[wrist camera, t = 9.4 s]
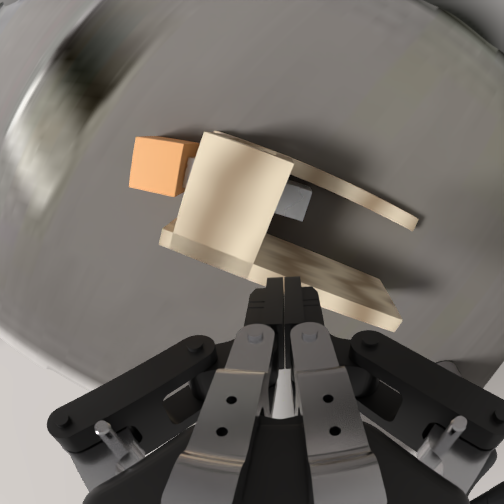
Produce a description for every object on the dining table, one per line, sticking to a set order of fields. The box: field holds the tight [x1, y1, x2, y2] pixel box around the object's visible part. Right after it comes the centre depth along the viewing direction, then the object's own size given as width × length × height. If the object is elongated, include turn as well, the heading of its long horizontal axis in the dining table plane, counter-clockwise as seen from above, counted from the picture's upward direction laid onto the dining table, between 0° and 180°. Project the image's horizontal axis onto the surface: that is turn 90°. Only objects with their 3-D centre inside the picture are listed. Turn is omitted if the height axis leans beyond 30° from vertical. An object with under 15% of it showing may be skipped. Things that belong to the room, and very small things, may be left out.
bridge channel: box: [159, 131, 419, 332], centre depth 26 cm, size 23×10×8 cm, turn 70°
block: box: [129, 136, 200, 197], centre depth 27 cm, size 5×5×5 cm
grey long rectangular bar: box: [182, 156, 312, 222], centre depth 28 cm, size 12×3×4 cm, turn 75°
